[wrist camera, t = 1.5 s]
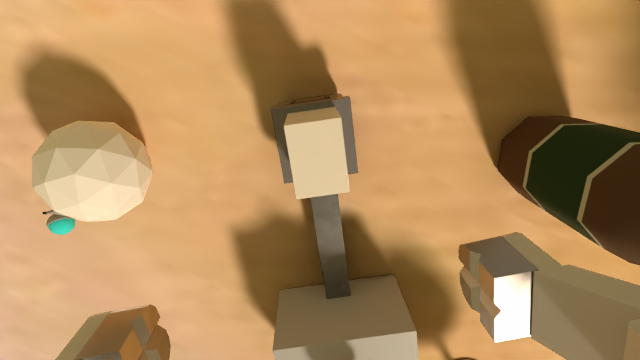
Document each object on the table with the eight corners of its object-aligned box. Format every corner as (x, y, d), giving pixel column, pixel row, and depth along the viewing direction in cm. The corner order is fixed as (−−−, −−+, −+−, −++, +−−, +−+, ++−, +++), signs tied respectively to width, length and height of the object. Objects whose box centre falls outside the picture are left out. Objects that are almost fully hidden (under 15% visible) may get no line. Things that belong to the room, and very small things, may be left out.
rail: (323, 95, 30) (325, 98, 28) (348, 280, 36) (350, 295, 34) (296, 99, 30) (295, 103, 28) (325, 283, 36) (326, 299, 34)
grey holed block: (393, 274, 36) (416, 330, 29) (398, 334, 39) (420, 400, 31) (279, 289, 36) (272, 350, 29) (292, 349, 39) (288, 418, 32)
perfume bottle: (187, 173, 28) (122, 263, 32) (144, 106, 31) (89, 197, 35) (83, 171, 21) (17, 284, 26) (39, 85, 24) (-14, 201, 28)
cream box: (345, 92, 30) (359, 106, 21) (352, 160, 32) (368, 196, 23) (274, 103, 30) (262, 120, 22) (286, 169, 32) (280, 208, 24)
